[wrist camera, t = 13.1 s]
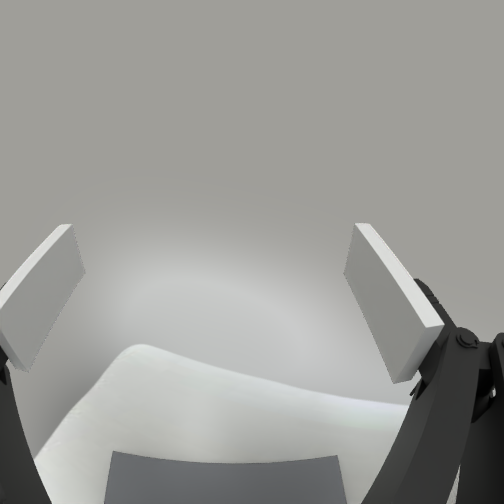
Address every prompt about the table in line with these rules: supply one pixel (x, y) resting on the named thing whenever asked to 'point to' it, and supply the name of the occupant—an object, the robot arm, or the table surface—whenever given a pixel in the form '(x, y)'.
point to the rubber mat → (223, 482)
